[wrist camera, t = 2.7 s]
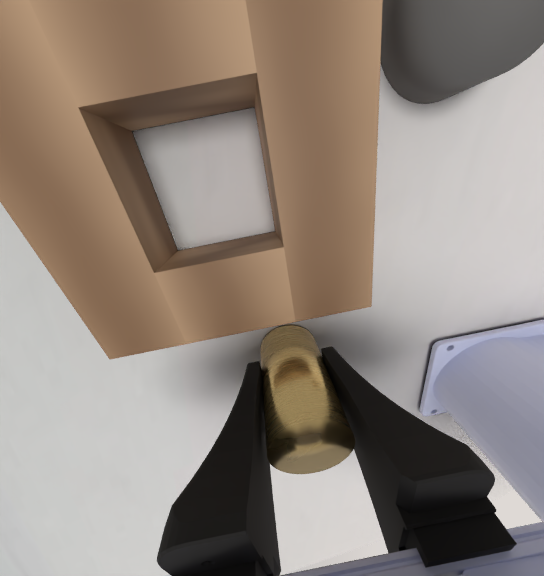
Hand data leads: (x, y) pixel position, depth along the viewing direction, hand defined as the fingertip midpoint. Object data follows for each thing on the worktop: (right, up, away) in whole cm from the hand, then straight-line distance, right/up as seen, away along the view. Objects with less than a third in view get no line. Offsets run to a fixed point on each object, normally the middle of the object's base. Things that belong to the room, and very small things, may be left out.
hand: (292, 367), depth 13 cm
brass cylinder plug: (0, +1, +1) cm, 2 cm away
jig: (-4, +9, -3) cm, 10 cm away
